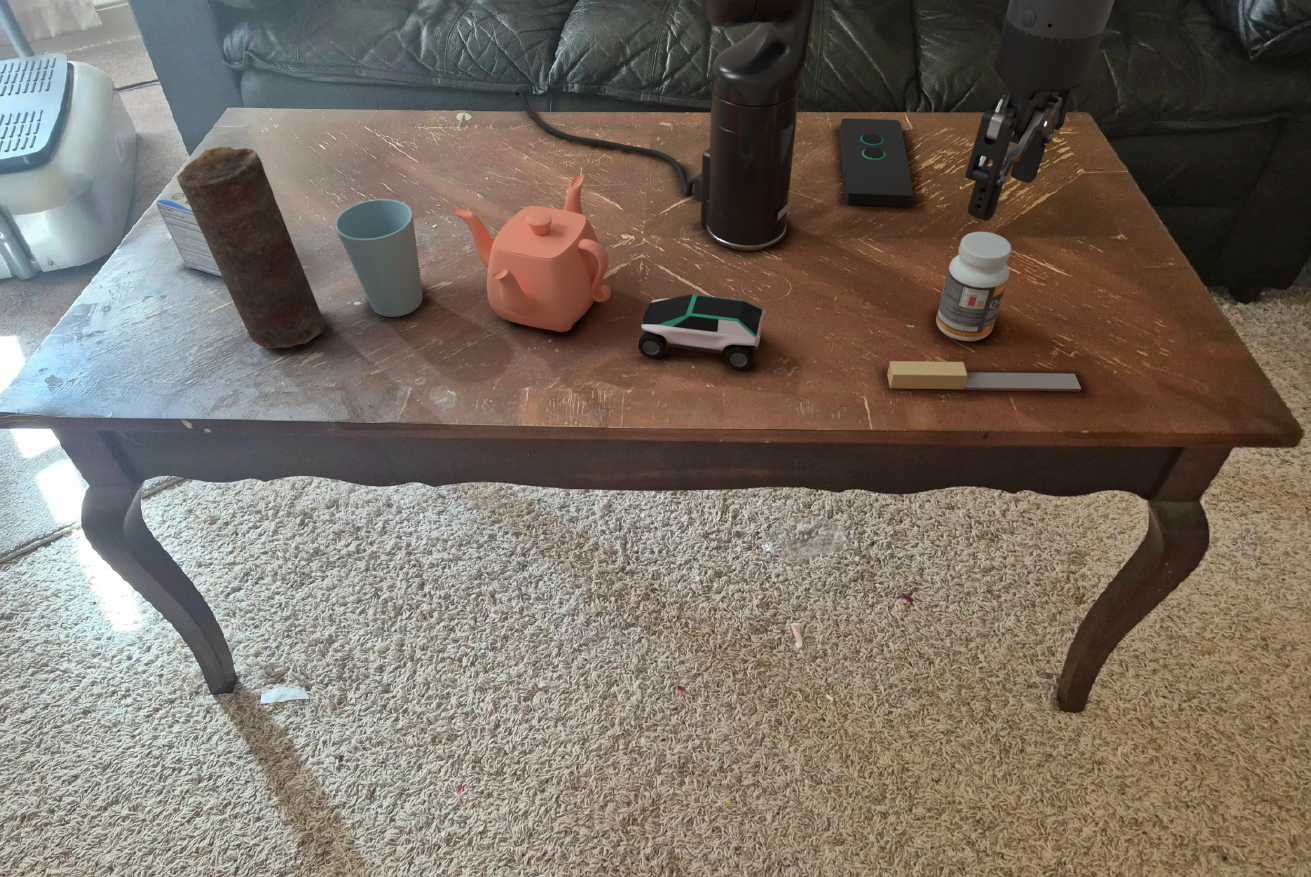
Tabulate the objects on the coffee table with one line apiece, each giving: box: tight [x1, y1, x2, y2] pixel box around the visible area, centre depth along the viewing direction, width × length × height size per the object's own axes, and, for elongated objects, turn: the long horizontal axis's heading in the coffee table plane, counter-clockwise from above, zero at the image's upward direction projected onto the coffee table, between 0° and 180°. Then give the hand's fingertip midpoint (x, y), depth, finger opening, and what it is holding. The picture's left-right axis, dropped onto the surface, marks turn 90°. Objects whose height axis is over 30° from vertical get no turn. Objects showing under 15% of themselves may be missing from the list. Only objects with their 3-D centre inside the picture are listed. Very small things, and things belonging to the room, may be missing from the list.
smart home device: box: [839, 117, 914, 208], centre depth 114 cm, size 8×2×20 cm
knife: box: [886, 360, 1082, 393], centre depth 84 cm, size 18×2×2 cm, turn 88°
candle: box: [176, 146, 326, 349], centre depth 85 cm, size 8×7×20 cm
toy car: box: [637, 293, 766, 371], centre depth 88 cm, size 6×12×5 cm, turn 77°
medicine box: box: [155, 185, 223, 278], centre depth 98 cm, size 8×4×9 cm, turn 65°
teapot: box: [451, 175, 612, 333], centre depth 91 cm, size 14×14×11 cm
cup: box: [334, 198, 423, 318], centre depth 92 cm, size 8×8×10 cm
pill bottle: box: [935, 231, 1012, 342], centre depth 88 cm, size 6×6×10 cm
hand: (1001, 197), depth 81 cm, fingers open, 8 cm apart
